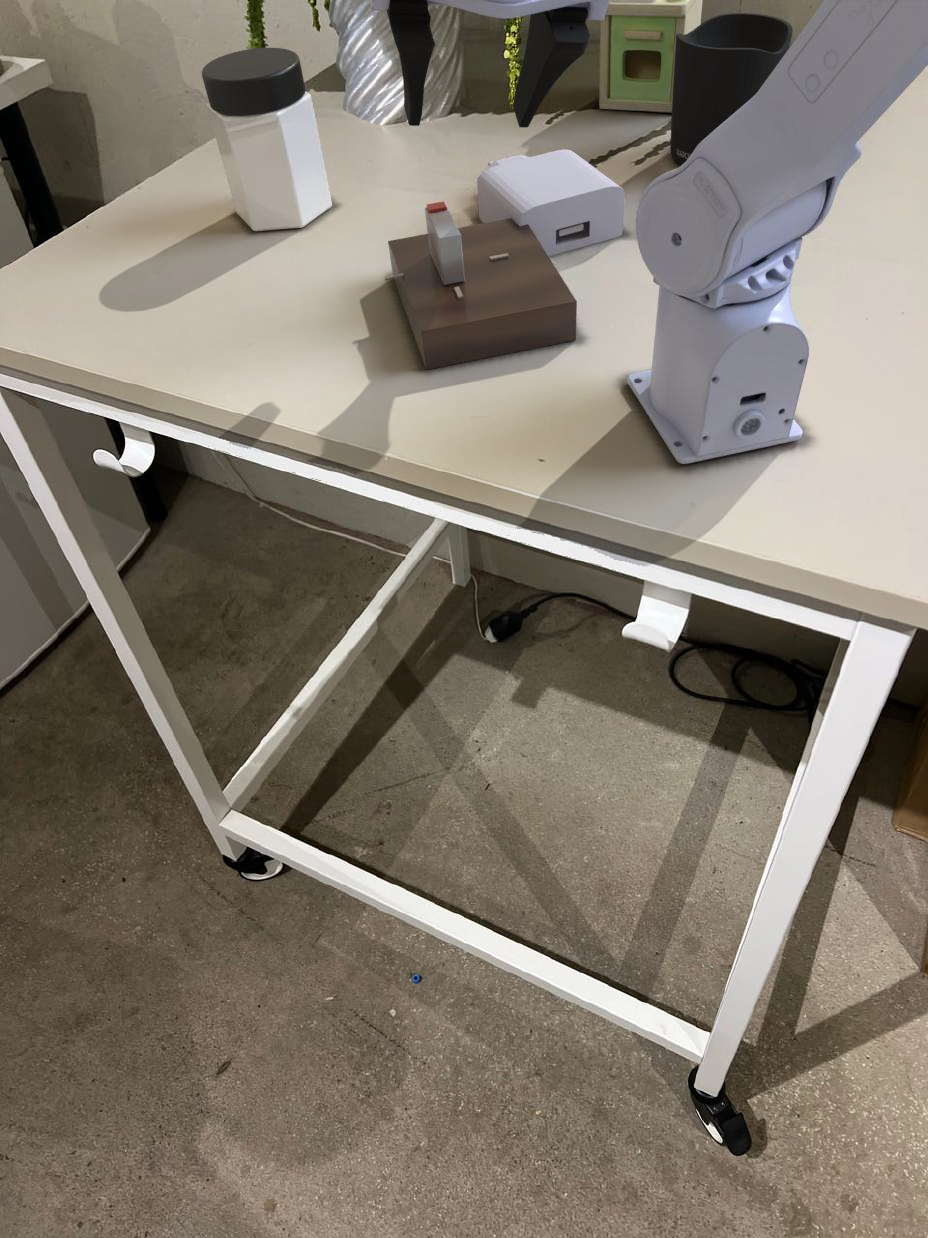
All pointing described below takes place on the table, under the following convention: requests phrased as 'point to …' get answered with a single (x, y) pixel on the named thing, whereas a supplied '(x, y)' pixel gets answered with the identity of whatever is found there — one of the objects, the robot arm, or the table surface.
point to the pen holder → (721, 73)
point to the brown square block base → (483, 295)
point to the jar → (267, 137)
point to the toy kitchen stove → (642, 52)
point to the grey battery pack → (444, 243)
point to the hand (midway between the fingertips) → (467, 116)
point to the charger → (553, 199)
